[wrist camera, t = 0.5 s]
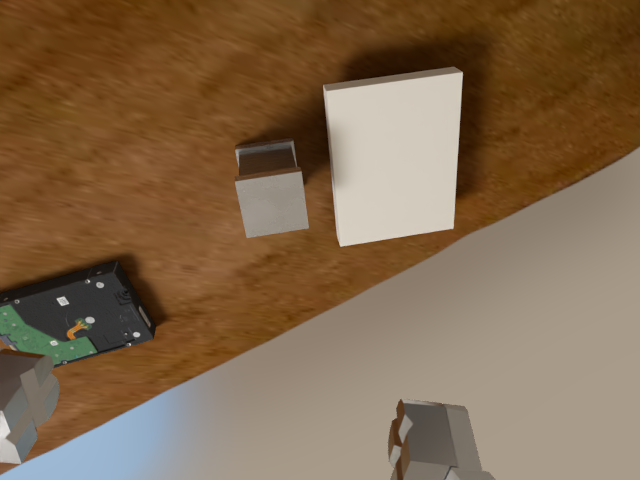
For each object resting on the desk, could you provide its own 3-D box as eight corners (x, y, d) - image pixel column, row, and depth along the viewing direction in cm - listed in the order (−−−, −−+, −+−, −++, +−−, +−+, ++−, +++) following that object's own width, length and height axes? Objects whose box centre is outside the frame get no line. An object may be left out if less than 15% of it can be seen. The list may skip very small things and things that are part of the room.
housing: (235, 145, 47) (234, 181, 41) (292, 137, 48) (301, 171, 41) (245, 196, 50) (246, 237, 44) (299, 188, 51) (308, 228, 44)
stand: (319, 79, 45) (326, 91, 42) (446, 61, 46) (462, 72, 42) (333, 226, 54) (340, 246, 50) (440, 209, 55) (453, 228, 51)
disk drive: (117, 255, 53) (-15, 295, 53) (112, 270, 50) (-26, 312, 50) (158, 323, 58) (39, 359, 58) (155, 339, 56) (31, 377, 56)
